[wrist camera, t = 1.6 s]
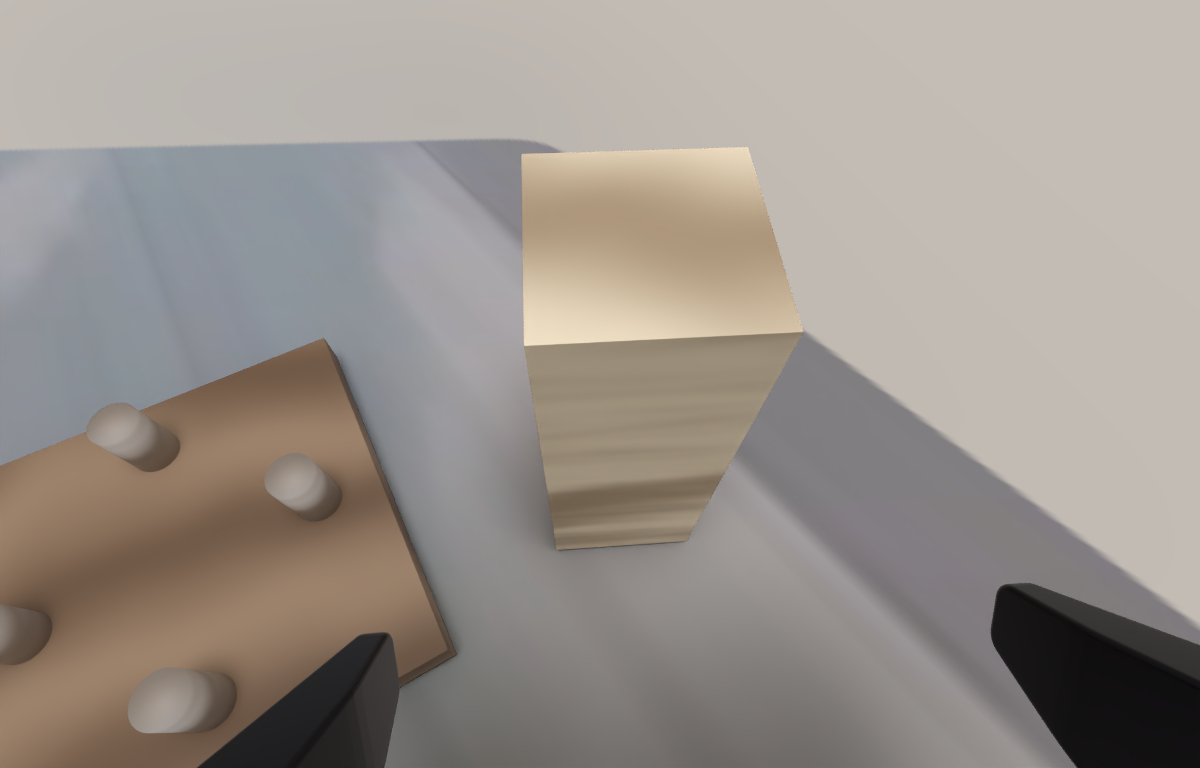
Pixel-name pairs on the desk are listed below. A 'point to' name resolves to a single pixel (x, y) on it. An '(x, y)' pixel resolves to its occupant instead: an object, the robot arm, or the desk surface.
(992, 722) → the desk surface
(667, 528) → the birch block
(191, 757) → the board
